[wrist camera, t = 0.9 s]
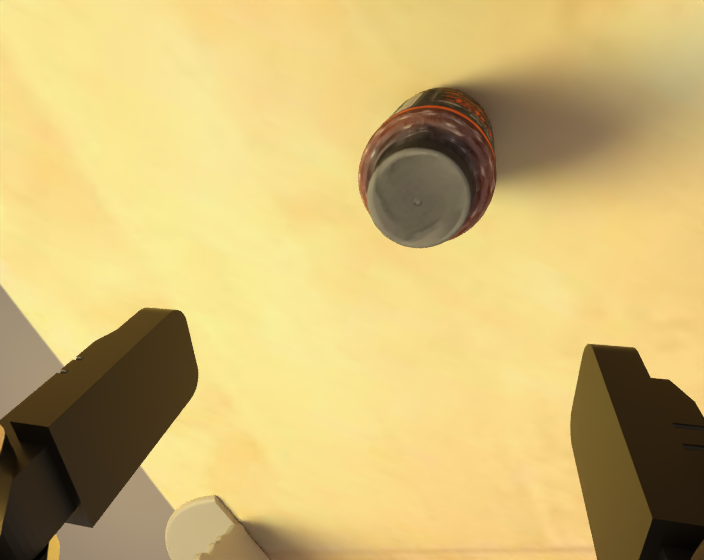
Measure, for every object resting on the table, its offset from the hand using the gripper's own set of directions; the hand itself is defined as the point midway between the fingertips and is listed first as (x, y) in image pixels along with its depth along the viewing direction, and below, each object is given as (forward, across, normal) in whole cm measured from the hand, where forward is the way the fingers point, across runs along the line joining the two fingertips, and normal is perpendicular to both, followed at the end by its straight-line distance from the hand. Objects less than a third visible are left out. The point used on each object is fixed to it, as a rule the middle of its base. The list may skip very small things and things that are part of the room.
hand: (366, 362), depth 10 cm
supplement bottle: (+22, 0, 0) cm, 22 cm away
